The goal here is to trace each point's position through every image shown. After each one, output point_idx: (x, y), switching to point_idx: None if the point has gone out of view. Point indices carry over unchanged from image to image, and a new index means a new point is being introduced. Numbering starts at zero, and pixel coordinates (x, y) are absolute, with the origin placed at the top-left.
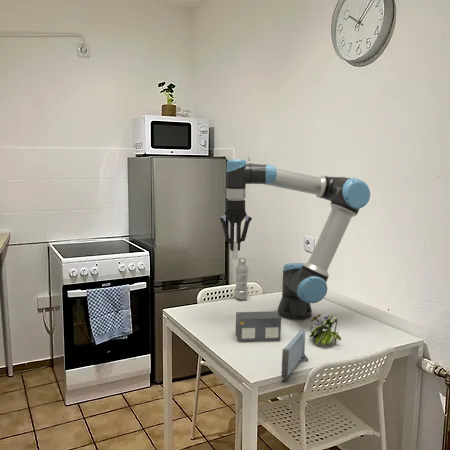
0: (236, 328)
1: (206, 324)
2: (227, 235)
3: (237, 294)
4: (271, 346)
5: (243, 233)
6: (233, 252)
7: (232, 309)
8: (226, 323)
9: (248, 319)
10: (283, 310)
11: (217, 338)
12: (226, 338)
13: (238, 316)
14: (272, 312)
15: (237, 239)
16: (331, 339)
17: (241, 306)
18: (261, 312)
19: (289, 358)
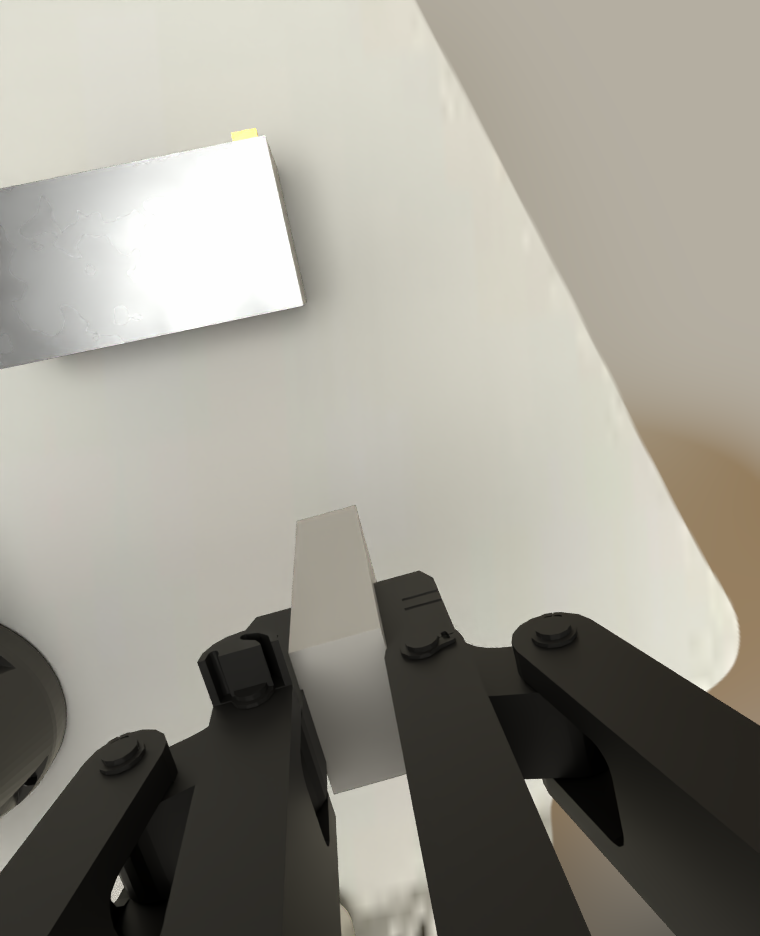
0: (298, 271)
1: (496, 449)
2: (628, 701)
3: None
4: (60, 112)
5: (70, 919)
6: (372, 577)
7: None
8: (375, 484)
9: (194, 151)
10: (4, 669)
11: (414, 214)
12: (358, 221)
13: (277, 199)
14: (14, 339)
15: (295, 724)
16: None
17: None
18: (102, 324)
19: None
